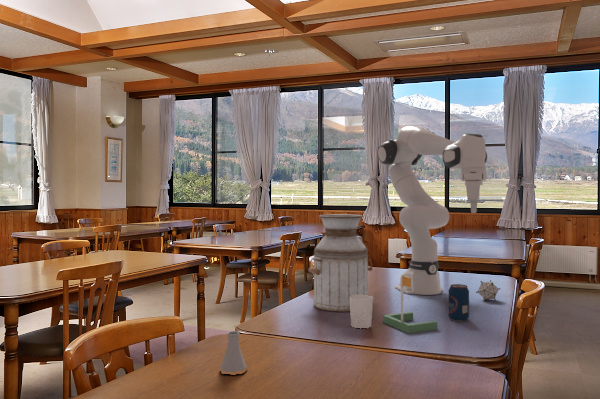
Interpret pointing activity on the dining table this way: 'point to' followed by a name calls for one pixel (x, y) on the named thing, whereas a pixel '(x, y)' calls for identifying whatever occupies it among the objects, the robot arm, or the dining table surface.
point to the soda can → (458, 302)
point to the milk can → (339, 264)
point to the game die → (488, 290)
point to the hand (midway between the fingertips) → (474, 212)
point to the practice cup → (407, 316)
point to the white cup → (361, 310)
